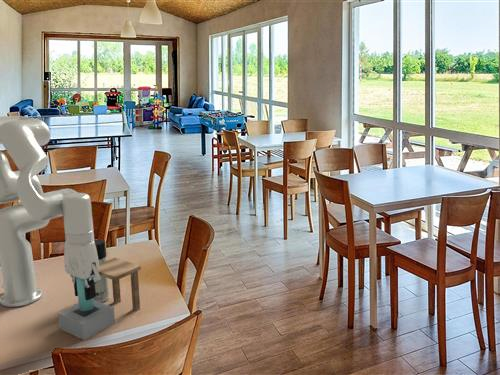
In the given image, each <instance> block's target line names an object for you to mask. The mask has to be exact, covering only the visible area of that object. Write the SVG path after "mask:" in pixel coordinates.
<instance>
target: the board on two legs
mask: <svg viewBox="0 0 500 375" xmlns="http://www.w3.org/2000/svg"><path fill="white" fill-rule="evenodd" d="M140 270H142V266H141V265H140V264H136V263H133V262H131V261H126V260H124V259H120V258H118V257H113V258H111V259H109V260H107V261H105V262H103V263H100V264H99V275H100V276H103V277H106V278H108V280H111V282H112V285H111V286H112V297H113V299H112V300H113V303H115V304H118V303H120V302H122V298H121V285H120V279H123V278H126V277H127V276H130V285H131V286H130V288H131V300H132V301H131V302H132V310H134V311H139V310H141V302H140V284H139V271H140Z"/></svg>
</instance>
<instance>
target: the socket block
mask: <svg viewBox="0 0 500 375" xmlns="http://www.w3.org/2000/svg"><path fill="white" fill-rule="evenodd" d="M93 305H94V307H93V309H91V310H89V311H80V310H79V303H77V304H75V305H73V306H71V307H68V308H66V309H65V310H64V309H63V310H61V311H60V312H58V313H57V314H58V322H59V329H60V330H62V331H64V332H66V333H68V334H71V335H73V336H74V337H77V338H78V339H81V340H83V341H85V340H87V339H88V338H91V337H93V336H94V335H96V334H97V333H100V332H101V331H103V330H105V329H107V328H108V327H110V326H113V325H114V324H115V323H116V321H115V320H116V318H115V316H116V315H115V307H112V306H111V305H108V304H105V303H104V302H103V303H101V302H98V301H96V300H93Z"/></svg>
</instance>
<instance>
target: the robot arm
mask: <svg viewBox="0 0 500 375" xmlns="http://www.w3.org/2000/svg"><path fill="white" fill-rule="evenodd" d="M50 141H51V131H50V128H49V126H48V125H47V124H46V122H44V121H43V120H41V119H39V118H35V117H30V116H29V117H28V116H24V115H23V116H22V115H5V116H0V145H2V146H3V147H4V149H5V151H6V152H7V153H8V155H9V156H10V158H11V160H12V161H13V163H14V164H15V165H16V167H17V170H16V171H15V170H14V171H13V170H12V168H11V166H10V162H9V160H8V157H7V156H6V155H5V153H3V152H2V151H1V150H0V205H2V204H8V203H12V202H16V201H20V204H14V205H11V206H6V207H2V208H1V209H0V271H1V279H2V284H1V288H2V289H3V293H4V294H2V295H1V296H0V305H1V306H4V307H7V308H18V307H24V306H27V305H30V304H33V303H35V302H36V301H38V300H39V299H41V298H42V296H43V291H42V289H41V288H39V287H37V282H36V275H35V267H34V265H35V264H34V257H33V248H32V244H31V243H30V241H28V240H27V239H26V238H25V237H24V236H23V235H24V234H27V233H30V232H34V231H36V230H39V229H43V228H45V227H46V226H47V225H49V222H50V220H54V219H57V218H59V217H60V218H61V217H62V218H63V225H64V226H63V227H64V234H65V237H64V238H65V241H64V247H63V254H64V256H63V258H64V261H63V263H64V271H65V273H66V274H68V275H69V276H70V277H71V280H72V283H73V290H74V296H75V297H78V292H77V282H76V277H78V278H81V279H84V281H85V285H86V287H85V288H84V289H85V299H86V300H87V301H88V300H90V299H92V298H94V297H96V291H95V285H96V282H97V281H99V280H100V279H101V277H100V275H99V262H98V255H97V250H96V246H95V242H94V239H95V233H94V221H93V220H94V219H93V212H92V211H93V210H92V209H93V208H92V200H91V196H90V195H89V194H88V193H84V192H78V191H76V190H75V189H72V188H63V189H57V190H52V191H49V192H44V191H43V187H42V184H41V182H40V179H39V177H38V176H37V175H38V174H39V173H41V172H42V171H44V169H45V168H46V167H47V166H48V164H49V157H48V155H47V154H46V153H45V151H44V149H42V147H41V146H45V145H47V144H48V143H49V142H50ZM89 278H91V280H90V281H89V280H88V279H89Z"/></svg>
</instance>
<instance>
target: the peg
mask: <svg viewBox="0 0 500 375" xmlns="http://www.w3.org/2000/svg"><path fill="white" fill-rule="evenodd" d="M88 280H89V281H90V280H91V278H89V279H88ZM76 282H77V292H78V296H77V299H78V304H79V310H80V311H89V310H91V309H93V307H94V305H93V298H92V299H90V300H88V301H87V300H86V299H85V289H84V288H85V287H86V285H85V281H84V279H81V278H78V277H76Z"/></svg>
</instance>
